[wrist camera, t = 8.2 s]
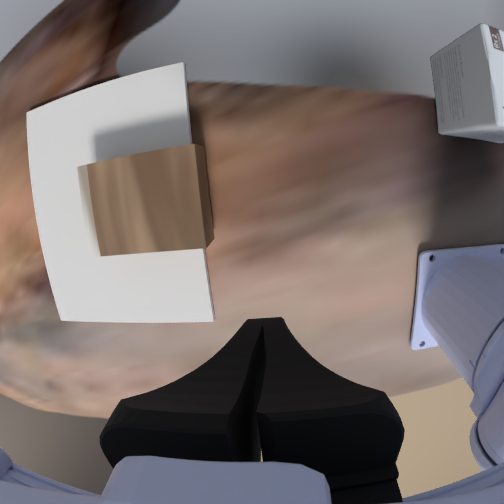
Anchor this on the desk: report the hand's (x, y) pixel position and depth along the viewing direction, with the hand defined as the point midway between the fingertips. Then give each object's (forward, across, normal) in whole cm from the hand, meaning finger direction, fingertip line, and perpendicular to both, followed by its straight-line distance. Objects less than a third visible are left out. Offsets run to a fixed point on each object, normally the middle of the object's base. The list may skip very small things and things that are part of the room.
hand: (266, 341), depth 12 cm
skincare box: (+10, -16, -11) cm, 22 cm away
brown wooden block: (+9, +3, -5) cm, 11 cm away
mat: (+11, +11, -5) cm, 16 cm away
